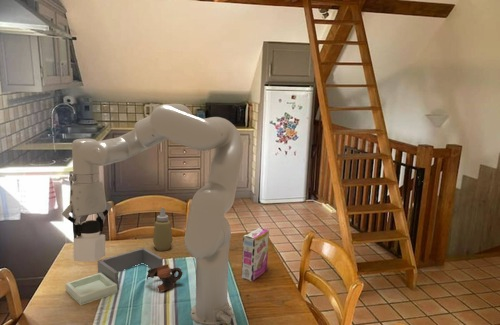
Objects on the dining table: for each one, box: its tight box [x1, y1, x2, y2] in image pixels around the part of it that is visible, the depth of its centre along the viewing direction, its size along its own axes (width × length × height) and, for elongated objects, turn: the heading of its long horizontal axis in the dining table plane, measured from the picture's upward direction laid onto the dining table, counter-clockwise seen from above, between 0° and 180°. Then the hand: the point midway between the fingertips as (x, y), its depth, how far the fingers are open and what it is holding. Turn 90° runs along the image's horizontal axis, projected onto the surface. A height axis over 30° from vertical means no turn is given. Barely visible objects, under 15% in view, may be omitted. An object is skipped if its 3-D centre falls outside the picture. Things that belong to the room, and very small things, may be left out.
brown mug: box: [146, 264, 184, 293], centre depth 136 cm, size 12×9×8 cm
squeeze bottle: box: [152, 207, 174, 252], centre depth 166 cm, size 8×8×18 cm
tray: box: [65, 272, 118, 306], centre depth 130 cm, size 12×12×3 cm
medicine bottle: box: [73, 219, 106, 263], centre depth 126 cm, size 7×7×12 cm
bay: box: [97, 247, 164, 290], centre depth 143 cm, size 13×18×6 cm
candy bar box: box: [241, 227, 270, 282], centre depth 145 cm, size 11×5×16 cm, turn 149°
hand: (88, 232), depth 127 cm, fingers closed on medicine bottle, 6 cm apart
